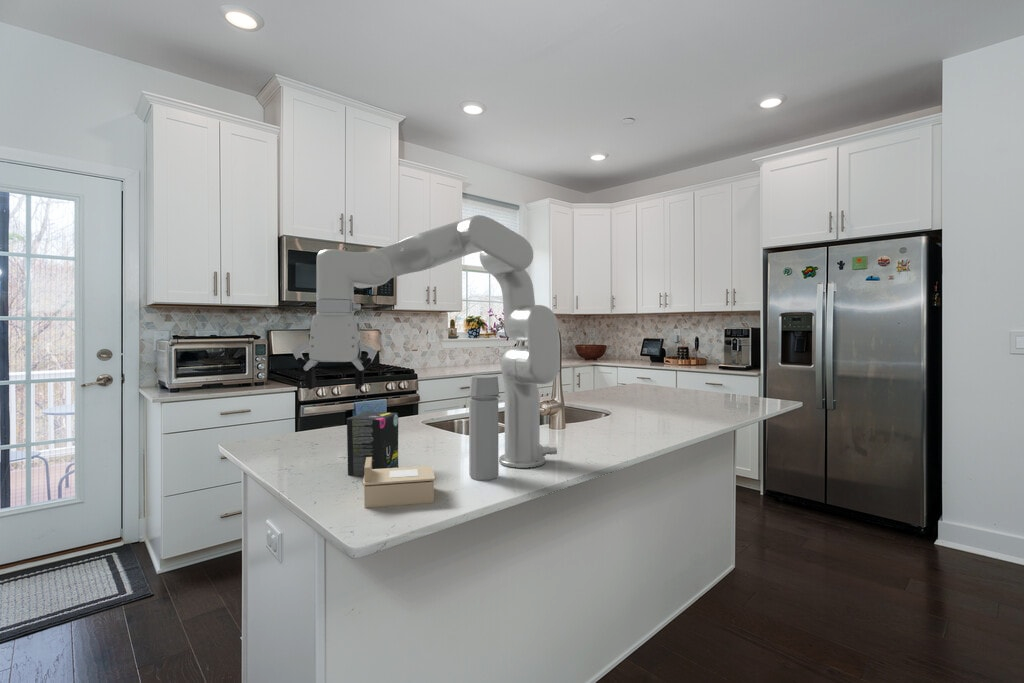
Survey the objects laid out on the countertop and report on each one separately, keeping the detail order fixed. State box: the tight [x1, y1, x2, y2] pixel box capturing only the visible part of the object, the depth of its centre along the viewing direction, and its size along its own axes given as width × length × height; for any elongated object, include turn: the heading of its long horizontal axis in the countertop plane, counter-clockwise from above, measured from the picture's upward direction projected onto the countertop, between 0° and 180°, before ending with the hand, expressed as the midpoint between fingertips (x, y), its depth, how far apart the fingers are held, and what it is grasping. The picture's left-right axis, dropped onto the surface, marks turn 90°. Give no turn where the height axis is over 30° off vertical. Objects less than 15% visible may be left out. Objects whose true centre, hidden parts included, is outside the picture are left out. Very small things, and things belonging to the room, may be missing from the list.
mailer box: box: [363, 480, 435, 509], centre depth 111 cm, size 14×10×5 cm
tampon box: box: [346, 411, 399, 477], centre depth 131 cm, size 11×9×15 cm
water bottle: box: [467, 374, 501, 482], centre depth 126 cm, size 9×8×25 cm
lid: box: [362, 457, 436, 486], centre depth 111 cm, size 15×10×3 cm
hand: (335, 388), depth 110 cm, fingers open, 9 cm apart
